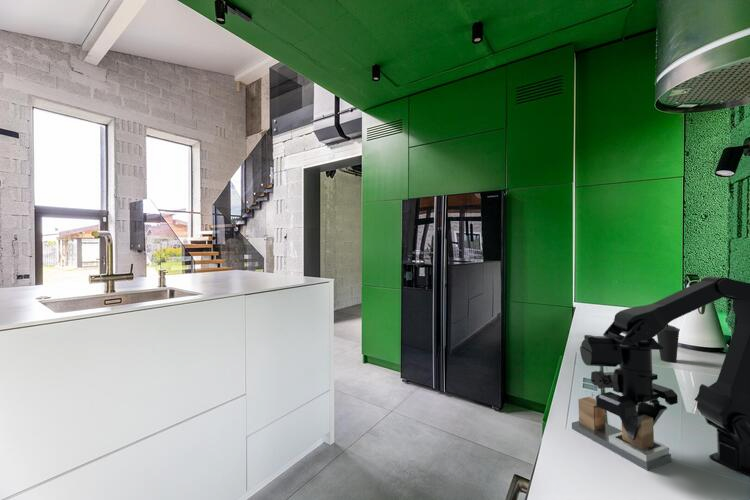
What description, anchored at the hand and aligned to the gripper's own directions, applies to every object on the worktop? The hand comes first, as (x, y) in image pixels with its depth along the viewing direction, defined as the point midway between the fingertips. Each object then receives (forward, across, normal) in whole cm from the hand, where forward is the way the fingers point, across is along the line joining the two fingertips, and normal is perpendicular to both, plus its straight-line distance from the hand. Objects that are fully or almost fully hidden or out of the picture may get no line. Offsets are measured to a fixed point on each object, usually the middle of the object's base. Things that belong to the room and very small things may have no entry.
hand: (637, 436), depth 70 cm
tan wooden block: (+1, 0, 0) cm, 1 cm away
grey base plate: (+4, 0, -4) cm, 6 cm away
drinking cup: (+4, -80, -36) cm, 88 cm away
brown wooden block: (+2, 0, -10) cm, 11 cm away
